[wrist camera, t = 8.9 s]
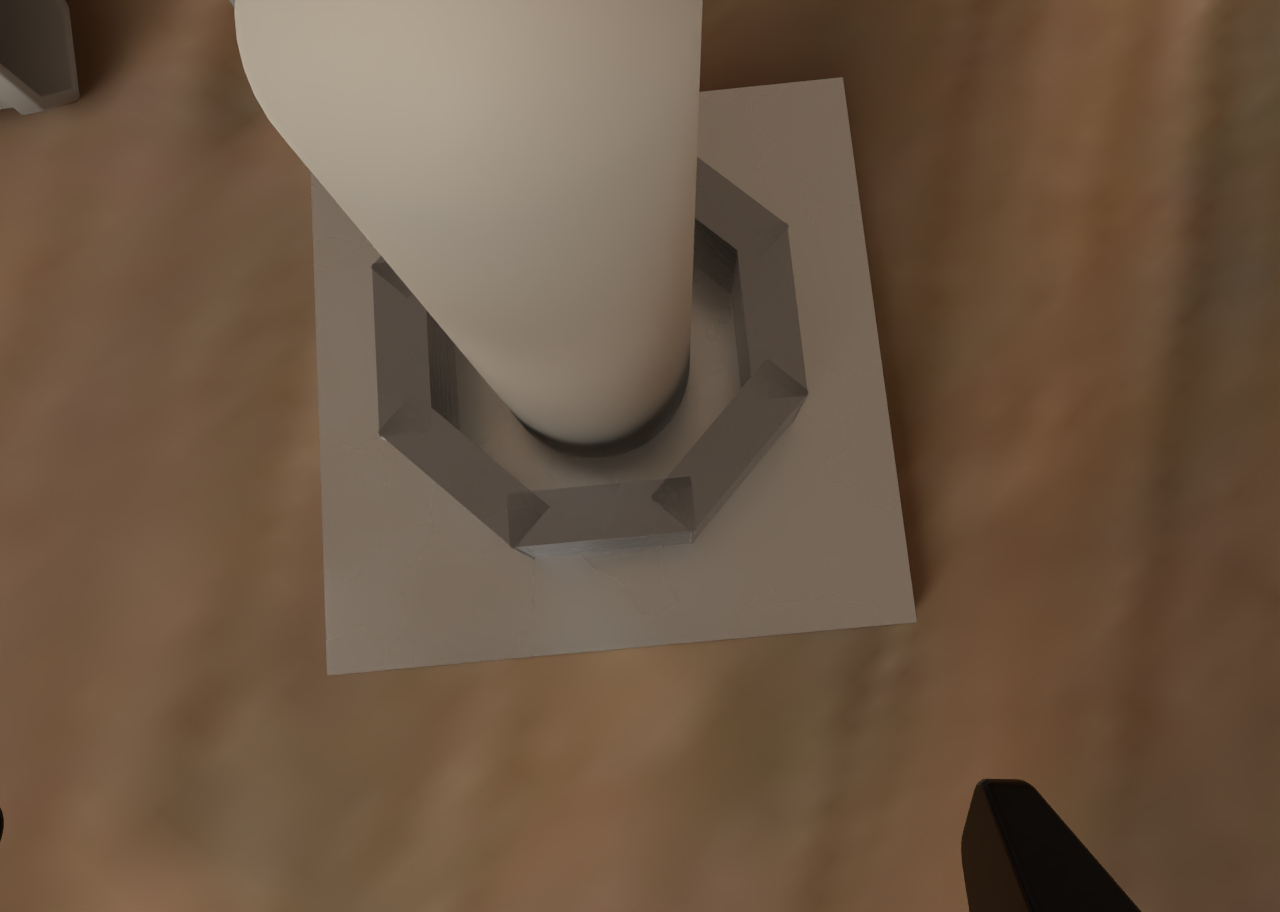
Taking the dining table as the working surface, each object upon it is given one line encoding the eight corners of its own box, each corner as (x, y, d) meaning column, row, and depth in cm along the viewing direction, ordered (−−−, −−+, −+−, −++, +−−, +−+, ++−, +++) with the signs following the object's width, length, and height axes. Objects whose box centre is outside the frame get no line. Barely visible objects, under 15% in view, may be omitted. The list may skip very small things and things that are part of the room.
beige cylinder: (722, 403, 21) (788, 76, 8) (553, 491, 21) (351, 296, 8) (635, 243, 22) (571, -293, 9) (470, 327, 22) (163, -93, 9)
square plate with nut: (907, 622, 21) (949, 620, 18) (340, 673, 21) (279, 680, 18) (837, 96, 23) (862, 8, 20) (322, 148, 23) (264, 69, 20)
